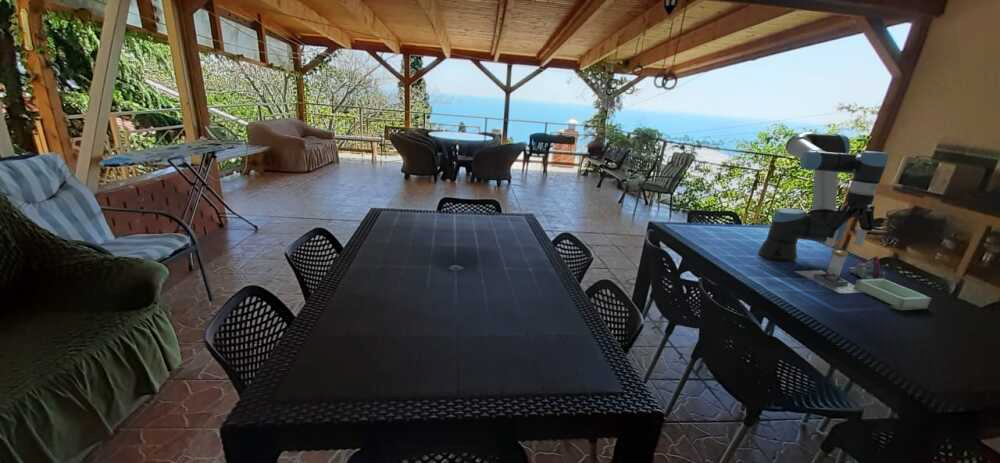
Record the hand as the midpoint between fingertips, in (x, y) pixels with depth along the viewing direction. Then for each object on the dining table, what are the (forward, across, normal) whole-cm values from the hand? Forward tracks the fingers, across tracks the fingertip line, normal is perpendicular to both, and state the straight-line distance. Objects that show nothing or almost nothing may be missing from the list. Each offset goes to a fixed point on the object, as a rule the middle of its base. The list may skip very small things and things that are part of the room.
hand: (843, 245), depth 154 cm
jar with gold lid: (+16, 0, 0) cm, 16 cm away
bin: (+17, +11, -14) cm, 24 cm away
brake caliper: (+17, +21, +2) cm, 27 cm away
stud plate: (+17, 0, 0) cm, 17 cm away
